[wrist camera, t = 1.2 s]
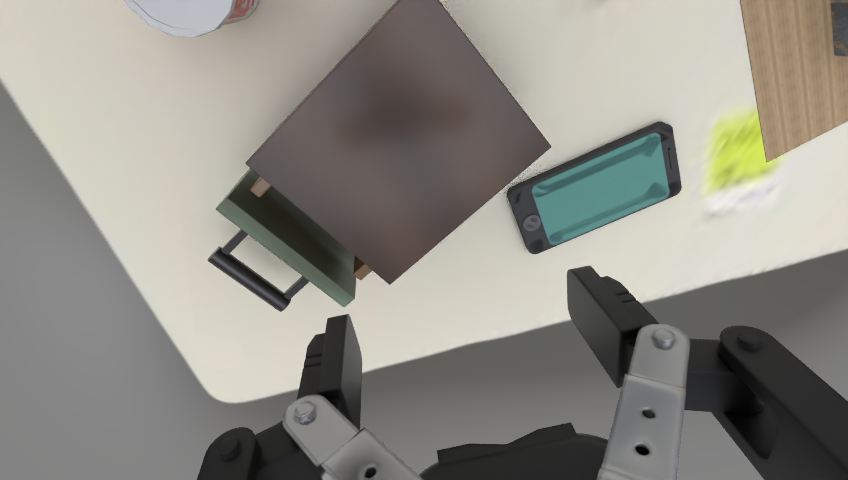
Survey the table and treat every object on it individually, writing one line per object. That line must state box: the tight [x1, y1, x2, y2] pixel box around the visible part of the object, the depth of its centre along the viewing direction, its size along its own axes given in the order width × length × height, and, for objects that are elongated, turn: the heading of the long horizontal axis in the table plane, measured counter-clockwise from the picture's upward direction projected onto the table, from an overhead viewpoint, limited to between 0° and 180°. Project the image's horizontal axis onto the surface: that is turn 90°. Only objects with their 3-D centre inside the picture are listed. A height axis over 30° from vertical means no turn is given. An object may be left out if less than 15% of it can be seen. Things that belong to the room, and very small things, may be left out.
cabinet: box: [246, 0, 551, 284], centre depth 31 cm, size 15×13×10 cm
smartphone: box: [507, 122, 682, 254], centre depth 40 cm, size 7×1×15 cm
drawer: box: [208, 168, 372, 312], centre depth 33 cm, size 19×11×8 cm, turn 132°
